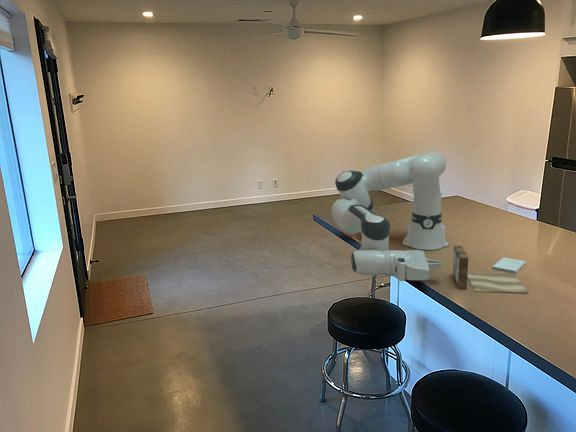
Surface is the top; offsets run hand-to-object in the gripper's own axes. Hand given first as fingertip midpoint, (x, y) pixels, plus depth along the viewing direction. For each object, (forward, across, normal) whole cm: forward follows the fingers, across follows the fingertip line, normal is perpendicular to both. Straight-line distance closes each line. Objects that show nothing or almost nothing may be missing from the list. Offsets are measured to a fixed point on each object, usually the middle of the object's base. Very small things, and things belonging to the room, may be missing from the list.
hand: (440, 264), depth 158 cm
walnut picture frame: (+6, -1, -6) cm, 9 cm away
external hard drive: (+27, -17, -7) cm, 32 cm away
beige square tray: (+18, -1, -6) cm, 19 cm away
